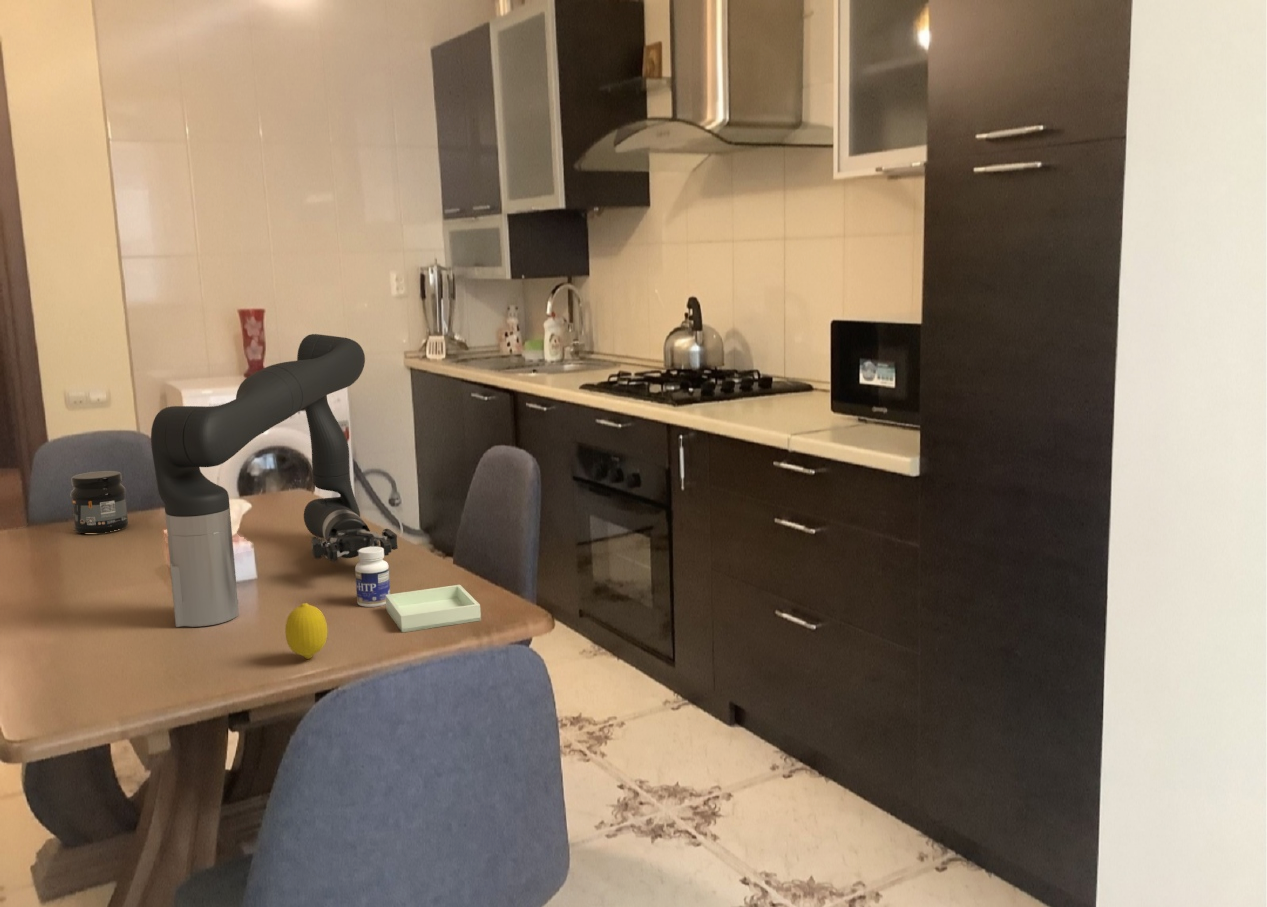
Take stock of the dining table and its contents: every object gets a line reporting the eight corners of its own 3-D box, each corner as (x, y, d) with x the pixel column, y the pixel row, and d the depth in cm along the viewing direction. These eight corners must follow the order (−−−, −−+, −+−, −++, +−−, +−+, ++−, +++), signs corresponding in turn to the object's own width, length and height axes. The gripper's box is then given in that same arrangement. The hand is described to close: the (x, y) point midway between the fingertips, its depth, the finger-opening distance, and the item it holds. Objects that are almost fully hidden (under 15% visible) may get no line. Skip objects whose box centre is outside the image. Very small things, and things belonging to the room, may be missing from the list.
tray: (402, 632, 157) (401, 616, 157) (386, 610, 168) (385, 594, 168) (480, 620, 162) (480, 604, 162) (460, 599, 173) (459, 584, 172)
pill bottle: (350, 605, 171) (347, 552, 169) (370, 596, 176) (366, 544, 174) (378, 609, 169) (374, 554, 167) (397, 599, 174) (394, 546, 172)
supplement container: (95, 523, 233) (89, 470, 231) (139, 524, 232) (134, 470, 230) (63, 535, 223) (57, 479, 221) (109, 536, 221) (103, 479, 219)
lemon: (317, 667, 144) (313, 610, 143) (279, 664, 145) (275, 608, 144) (336, 652, 149) (332, 598, 148) (300, 650, 150) (296, 596, 149)
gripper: (303, 517, 191) (316, 536, 176) (383, 508, 197) (402, 526, 182) (306, 557, 192) (319, 580, 178) (386, 548, 198) (404, 569, 183)
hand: (361, 552), depth 180 cm, fingers open, 8 cm apart
